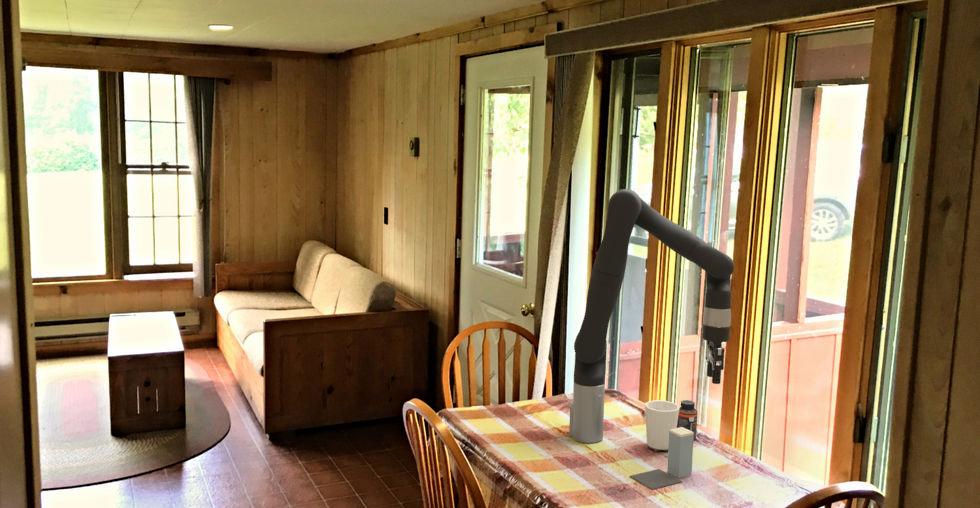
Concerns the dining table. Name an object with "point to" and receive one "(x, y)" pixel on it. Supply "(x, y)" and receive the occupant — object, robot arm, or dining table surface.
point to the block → (680, 452)
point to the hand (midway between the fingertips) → (713, 380)
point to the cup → (660, 423)
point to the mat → (655, 479)
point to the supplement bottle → (688, 416)
